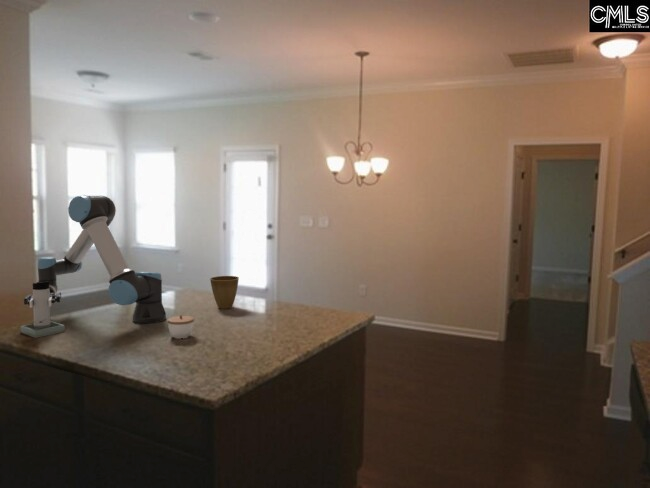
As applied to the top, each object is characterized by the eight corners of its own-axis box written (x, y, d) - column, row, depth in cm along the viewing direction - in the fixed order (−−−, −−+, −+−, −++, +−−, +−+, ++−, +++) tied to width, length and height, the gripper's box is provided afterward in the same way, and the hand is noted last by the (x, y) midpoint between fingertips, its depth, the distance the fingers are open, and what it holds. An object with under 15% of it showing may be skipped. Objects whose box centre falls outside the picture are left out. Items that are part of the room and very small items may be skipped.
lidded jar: (199, 334, 210) (199, 313, 209) (184, 341, 200) (184, 319, 199) (178, 332, 213) (177, 311, 212) (162, 338, 203) (162, 316, 202)
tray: (64, 331, 212) (64, 325, 211) (35, 337, 202) (34, 331, 202) (49, 326, 219) (49, 320, 219) (20, 332, 209) (20, 325, 209)
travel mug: (43, 329, 207) (42, 282, 205) (30, 327, 208) (28, 281, 206) (54, 325, 213) (53, 280, 211) (41, 324, 214) (40, 279, 212)
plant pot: (229, 303, 272) (229, 274, 270) (244, 307, 261) (244, 278, 259) (205, 306, 262) (204, 277, 260) (219, 312, 251) (219, 281, 249)
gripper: (69, 300, 230) (66, 310, 209) (21, 303, 222) (13, 314, 201) (68, 284, 229) (65, 293, 208) (21, 286, 221) (12, 296, 200)
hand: (40, 304), depth 205 cm, fingers closed on travel mug, 6 cm apart
